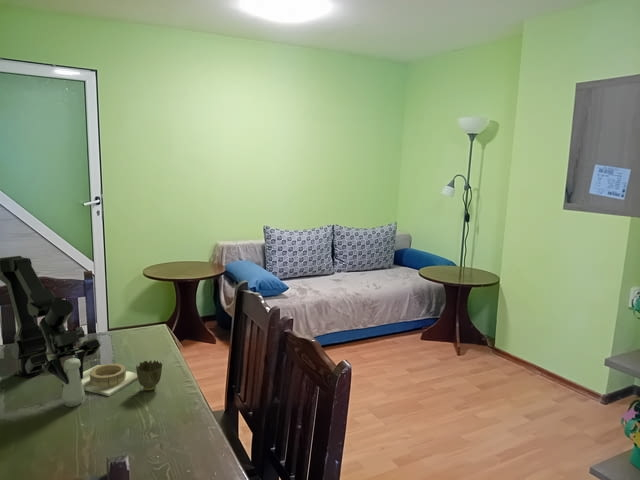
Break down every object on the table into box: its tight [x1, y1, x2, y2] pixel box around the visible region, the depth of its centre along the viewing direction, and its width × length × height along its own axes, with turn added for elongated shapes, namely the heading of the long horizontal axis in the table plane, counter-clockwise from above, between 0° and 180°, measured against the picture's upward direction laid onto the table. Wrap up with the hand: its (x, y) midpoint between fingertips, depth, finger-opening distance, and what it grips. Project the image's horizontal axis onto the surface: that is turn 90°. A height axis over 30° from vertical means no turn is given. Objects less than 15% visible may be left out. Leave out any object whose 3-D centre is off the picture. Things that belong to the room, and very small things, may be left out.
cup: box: [135, 360, 163, 393], centre depth 141 cm, size 8×7×8 cm
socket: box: [62, 363, 138, 397], centre depth 145 cm, size 18×14×4 cm
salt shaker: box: [61, 357, 86, 408], centre depth 131 cm, size 6×6×13 cm
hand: (74, 381), depth 130 cm, fingers closed on salt shaker, 3 cm apart
